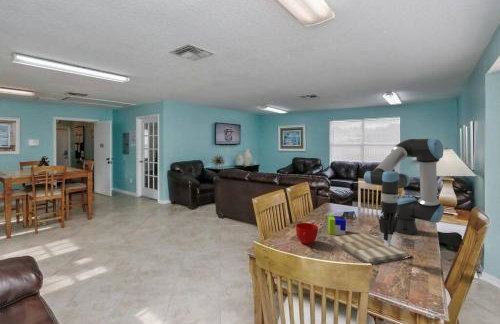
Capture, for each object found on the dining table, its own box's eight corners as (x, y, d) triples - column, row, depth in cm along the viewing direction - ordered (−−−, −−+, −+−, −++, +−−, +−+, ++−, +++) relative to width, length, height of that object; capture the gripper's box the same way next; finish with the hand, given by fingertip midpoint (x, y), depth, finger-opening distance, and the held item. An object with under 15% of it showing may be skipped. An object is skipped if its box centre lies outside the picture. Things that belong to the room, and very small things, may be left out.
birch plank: (391, 248, 145) (392, 245, 145) (407, 256, 136) (407, 252, 136) (354, 254, 137) (354, 250, 137) (368, 262, 127) (368, 258, 127)
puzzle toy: (345, 235, 166) (346, 220, 165) (329, 234, 168) (329, 219, 167) (342, 230, 176) (343, 216, 175) (327, 229, 178) (328, 215, 177)
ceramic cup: (292, 247, 146) (292, 230, 146) (297, 237, 162) (298, 221, 161) (315, 250, 142) (315, 233, 141) (318, 240, 158) (319, 224, 157)
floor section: (366, 235, 166) (366, 232, 166) (412, 257, 135) (413, 253, 135) (327, 240, 157) (327, 236, 157) (367, 265, 126) (367, 260, 125)
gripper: (385, 204, 125) (383, 250, 127) (405, 202, 129) (403, 247, 131) (373, 200, 132) (371, 244, 134) (392, 199, 136) (390, 241, 138)
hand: (387, 245), depth 133 cm, fingers closed
